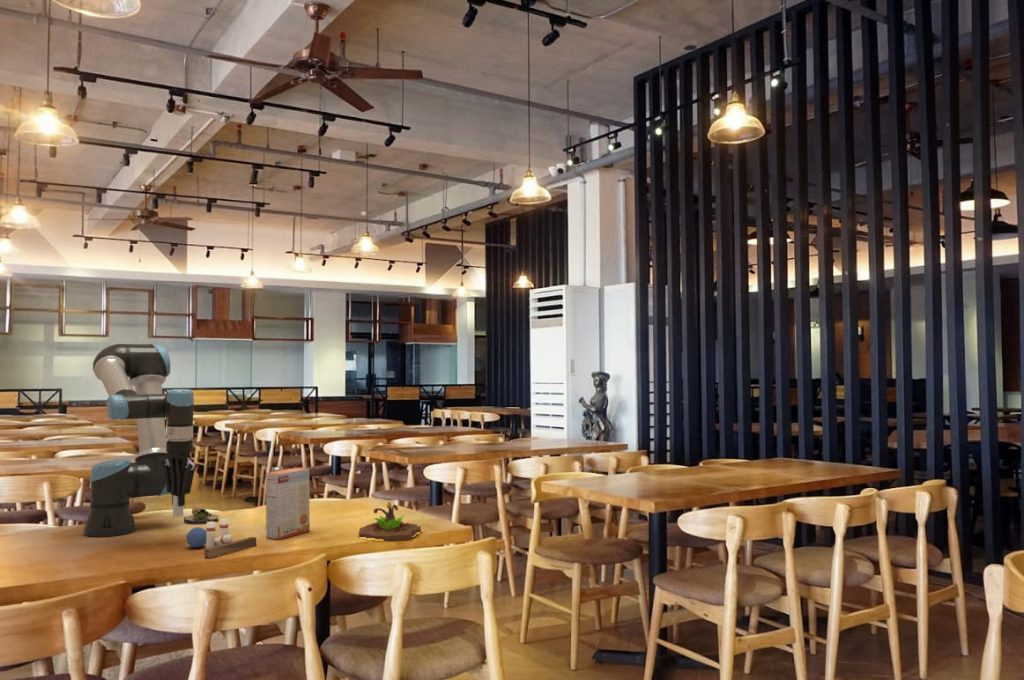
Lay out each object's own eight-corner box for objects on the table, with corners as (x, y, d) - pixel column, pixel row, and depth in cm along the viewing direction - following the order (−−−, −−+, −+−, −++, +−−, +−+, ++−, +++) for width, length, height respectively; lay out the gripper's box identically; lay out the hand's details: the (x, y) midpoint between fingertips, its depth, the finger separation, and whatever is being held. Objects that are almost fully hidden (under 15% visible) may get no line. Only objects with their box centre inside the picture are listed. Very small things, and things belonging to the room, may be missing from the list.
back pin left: (217, 548, 241) (217, 519, 241) (223, 546, 243) (224, 518, 243) (223, 549, 240) (223, 520, 240) (229, 547, 242) (230, 519, 242)
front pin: (205, 541, 240) (225, 534, 236) (211, 539, 242) (231, 533, 239) (206, 549, 239) (227, 543, 236) (213, 548, 241) (233, 541, 238)
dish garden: (208, 526, 275) (208, 504, 275) (176, 525, 277) (176, 503, 277) (225, 519, 287) (226, 498, 287) (195, 518, 289) (195, 497, 289)
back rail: (204, 557, 229) (204, 549, 229) (251, 545, 245) (251, 536, 245) (209, 558, 228) (209, 549, 228) (256, 545, 244) (256, 537, 244)
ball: (198, 539, 237) (192, 554, 239) (214, 533, 242) (208, 548, 244) (185, 526, 239) (179, 541, 241) (202, 520, 244) (196, 536, 246)
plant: (351, 542, 250) (351, 506, 251) (364, 529, 270) (365, 496, 270) (415, 543, 250) (415, 507, 250) (424, 530, 269) (424, 496, 270)
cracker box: (296, 530, 267) (297, 467, 267) (310, 532, 264) (310, 468, 264) (264, 538, 255) (265, 472, 255) (278, 540, 252) (278, 473, 252)
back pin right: (204, 551, 236) (204, 522, 236) (210, 550, 238) (211, 521, 239) (210, 552, 235) (210, 523, 235) (217, 550, 237) (217, 522, 238)
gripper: (154, 439, 247) (152, 516, 247) (184, 442, 241) (183, 521, 241) (174, 436, 253) (173, 511, 253) (204, 440, 248) (202, 516, 248)
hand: (178, 516), depth 247 cm, fingers closed
